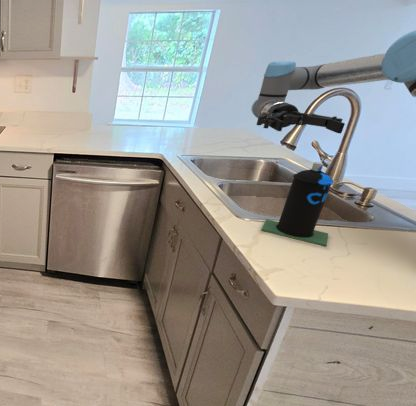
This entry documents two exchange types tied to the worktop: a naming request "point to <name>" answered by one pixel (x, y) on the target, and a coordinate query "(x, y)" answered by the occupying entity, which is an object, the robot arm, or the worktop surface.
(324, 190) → the aerosol can
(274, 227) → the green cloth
